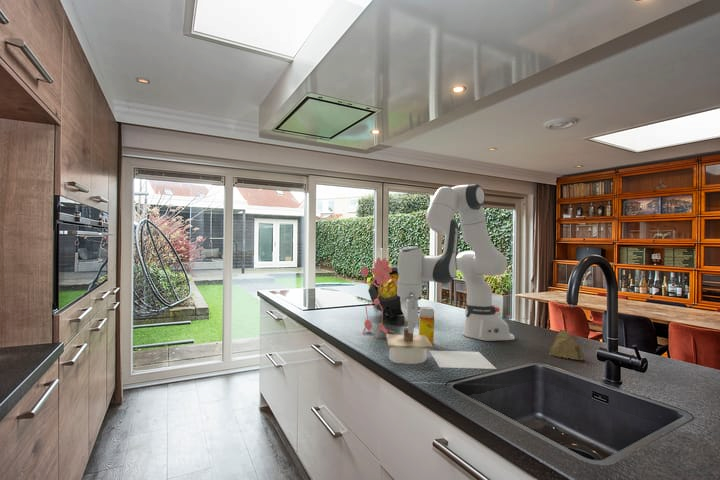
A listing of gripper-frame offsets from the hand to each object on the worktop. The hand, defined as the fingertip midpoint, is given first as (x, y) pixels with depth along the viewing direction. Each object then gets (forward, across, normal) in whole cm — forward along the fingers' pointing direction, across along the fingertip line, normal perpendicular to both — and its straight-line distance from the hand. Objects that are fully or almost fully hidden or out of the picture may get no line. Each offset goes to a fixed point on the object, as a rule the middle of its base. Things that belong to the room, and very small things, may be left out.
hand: (408, 329), depth 133 cm
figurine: (+11, +36, +8) cm, 38 cm away
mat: (+11, 0, -19) cm, 22 cm away
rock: (+11, +7, -61) cm, 62 cm away
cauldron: (+11, +76, -2) cm, 77 cm away
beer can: (+11, +20, -10) cm, 25 cm away
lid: (+5, 0, 0) cm, 5 cm away
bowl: (+11, 0, 0) cm, 11 cm away
